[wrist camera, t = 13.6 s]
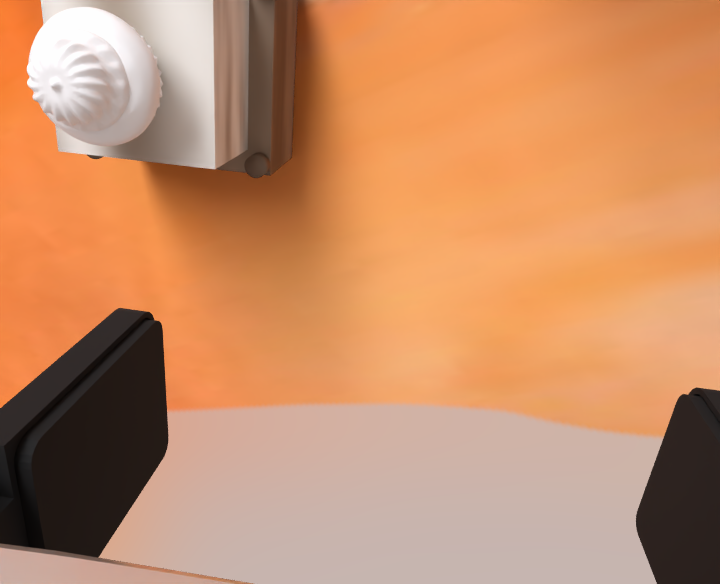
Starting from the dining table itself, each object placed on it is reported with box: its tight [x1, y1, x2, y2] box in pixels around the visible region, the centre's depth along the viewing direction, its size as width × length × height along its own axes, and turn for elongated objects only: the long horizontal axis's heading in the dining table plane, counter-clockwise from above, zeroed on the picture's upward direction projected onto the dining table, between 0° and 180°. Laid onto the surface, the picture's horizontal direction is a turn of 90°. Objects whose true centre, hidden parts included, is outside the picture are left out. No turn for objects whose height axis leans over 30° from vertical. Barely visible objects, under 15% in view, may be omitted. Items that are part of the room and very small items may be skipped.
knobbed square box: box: [41, 0, 298, 178], centre depth 37 cm, size 12×12×12 cm
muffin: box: [27, 7, 163, 146], centre depth 28 cm, size 6×6×7 cm
